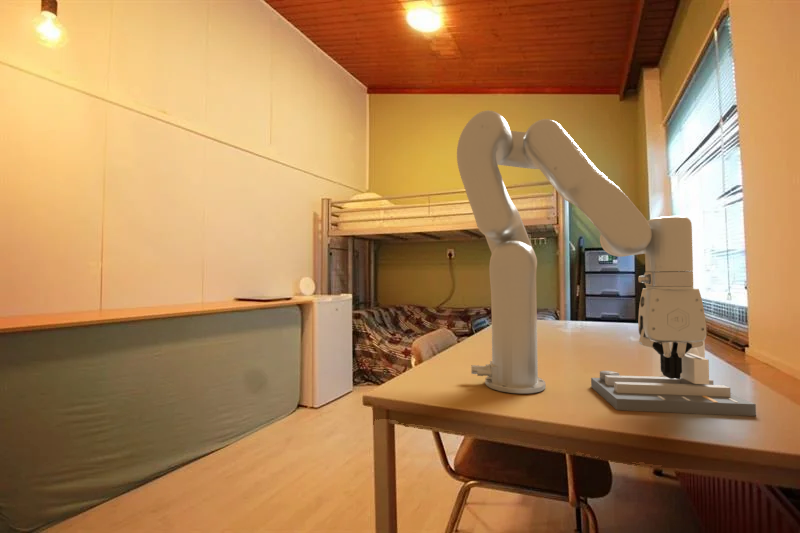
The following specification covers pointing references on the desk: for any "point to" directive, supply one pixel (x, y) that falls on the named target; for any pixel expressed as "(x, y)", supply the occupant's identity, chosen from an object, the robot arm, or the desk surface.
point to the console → (669, 395)
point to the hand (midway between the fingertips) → (671, 376)
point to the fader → (694, 370)
